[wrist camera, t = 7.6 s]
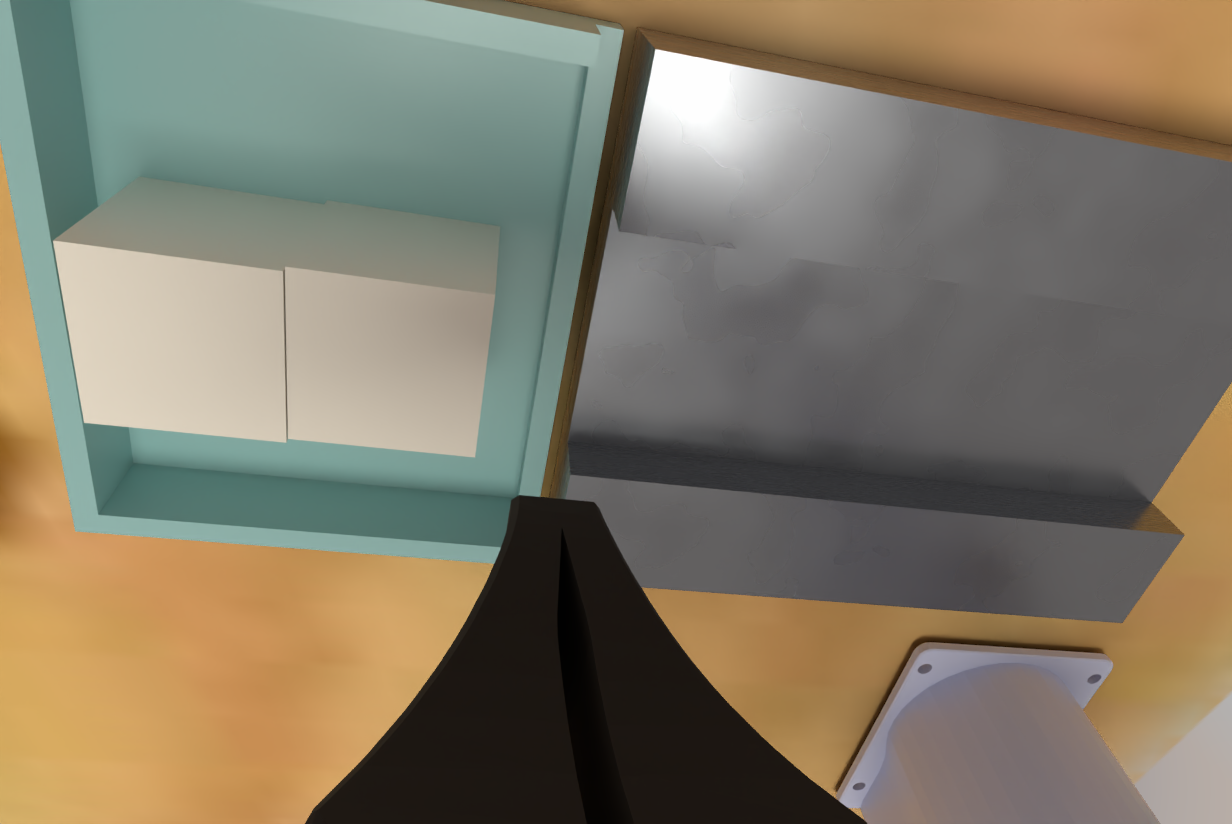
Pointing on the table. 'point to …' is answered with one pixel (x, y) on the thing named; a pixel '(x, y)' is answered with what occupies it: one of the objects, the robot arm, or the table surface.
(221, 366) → the beige cube
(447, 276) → the cream cube block
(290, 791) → the table surface
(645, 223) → the slotted plate
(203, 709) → the table surface
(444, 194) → the tray
